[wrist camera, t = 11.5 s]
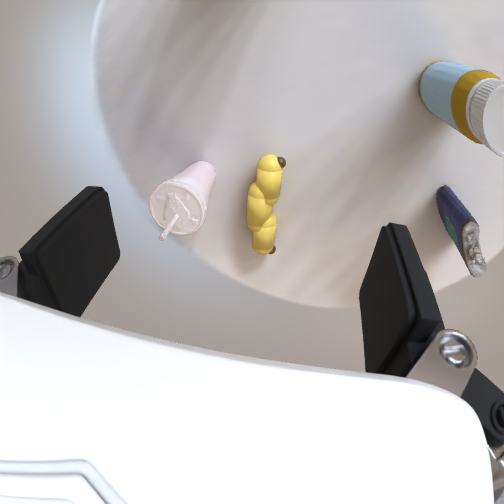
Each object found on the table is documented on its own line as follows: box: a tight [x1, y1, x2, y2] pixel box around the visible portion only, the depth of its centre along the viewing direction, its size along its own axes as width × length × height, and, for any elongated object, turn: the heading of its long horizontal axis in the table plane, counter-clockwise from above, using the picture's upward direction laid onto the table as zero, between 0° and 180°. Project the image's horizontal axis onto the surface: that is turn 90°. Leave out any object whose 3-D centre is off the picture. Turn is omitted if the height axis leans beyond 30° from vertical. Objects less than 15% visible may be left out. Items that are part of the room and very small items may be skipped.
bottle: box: [419, 61, 504, 157], centre depth 22 cm, size 7×7×15 cm
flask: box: [436, 185, 486, 277], centre depth 33 cm, size 9×3×11 cm, turn 36°
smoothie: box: [149, 161, 216, 241], centre depth 35 cm, size 6×6×14 cm
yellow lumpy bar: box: [247, 155, 286, 255], centre depth 40 cm, size 14×4×3 cm, turn 177°
